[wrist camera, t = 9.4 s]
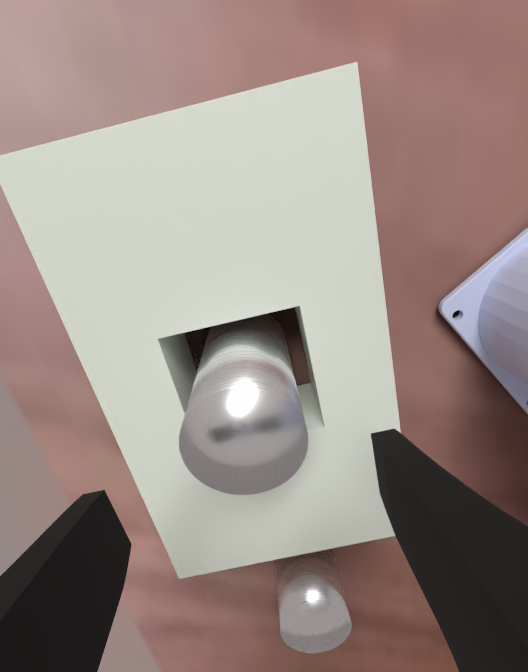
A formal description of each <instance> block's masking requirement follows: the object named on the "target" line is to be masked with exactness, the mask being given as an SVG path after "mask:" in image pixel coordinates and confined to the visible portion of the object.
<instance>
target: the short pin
mask: <svg viewBox="0 0 528 672" xmlns="http://www.w3.org/2000/svg"><path fill="white" fill-rule="evenodd" d="M275 570H276V582H277V594H278V606H279V618H280V630H281V637H282V639H283V641H284V642H285V643H286V644H287V645H288V646H289V647H290V648H292V649H294V650H296V651H300V652H304V653H320V652H325V651H328V650H331V649H333V648H335V647H337V646H339V645H340V644H342V643H343V642H344V641H345V640H346V639H347V637H348V636H349V634H350V632H351V628H352V624H351V619H350V615H349V611H348V607H347V603H346V599H345V595H344V591H343V587H342V583H341V580H340V576H339V572H338V568H337V564H336V560H335V556H334V554H333V553H332V551H331V550H330V549H327V550H322V551H317V552H312V553H307V554H302V555H297V556H292V557H286V558H281V559H277V560H276V564H275Z"/></svg>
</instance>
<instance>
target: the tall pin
mask: <svg viewBox="0 0 528 672" xmlns="http://www.w3.org/2000/svg"><path fill="white" fill-rule="evenodd" d="M179 449H180V454H181V457H182V460H183V462H184V464H185V465H186V467H187V468H188V470H189V471H190V472H191V473H192V475H193V476H194V477H195V478H197V479H198V480H199V481H200V482H202V483H203V484H205V485H206V486H208V487H210V488H212V489H215V490H217V491H220V492H224V493H228V494H235V495H252V494H258V493H262V492H266V491H269V490H272V489H274V488H276V487H278V486H280V485H282V484H283V483H285V482H286V481H288V480H289V479H290V478H291V477H292V476H293V475H294V474H295V473H296V472H297V471H298V470H299V468H300V467H301V465H302V463H303V461H304V459H305V457H306V454H307V450H308V432H307V427H306V423H305V419H304V415H303V411H302V406H301V402H300V398H299V394H298V389H297V385H296V381H295V377H294V373H293V368H292V364H291V360H290V356H289V351H288V347H287V343H286V339H285V335H284V332H283V329H282V327H281V326H280V324H279V323H278V321H277V320H276V319H275V318H274V317H273V316H271V315H270V314H268V313H267V314H263V315H258V316H254V317H250V318H245V319H241V320H237V321H232V322H228V323H224V324H219V325H215V326H211V328H210V330H209V332H208V336H207V339H206V342H205V346H204V349H203V353H202V356H201V360H200V363H199V367H198V370H197V374H196V377H195V381H194V384H193V388H192V391H191V395H190V398H189V402H188V405H187V408H186V412H185V415H184V419H183V422H182V426H181V429H180V434H179Z"/></svg>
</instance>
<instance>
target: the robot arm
mask: <svg viewBox="0 0 528 672" xmlns="http://www.w3.org/2000/svg"><path fill="white" fill-rule="evenodd" d="M438 310H439V312H440V314H441V315H442V316H443V317H444V319H445V320H446V321H447V322H448V323H449V324H450V325H451V327H452V328H453V329H454V330H455V331H456V332H457V334H458V335H459V336H460V337H461V338H462V339H463V340H464V342H465V343H466V344H467V345H468V346H469V347H470V349H471V350H472V351H473V352H474V353H475V354H476V355H477V357H478V358H479V359H480V360H481V361H482V362H483V364H484V365H485V366H486V367H487V368H488V369H489V370H490V372H491V373H492V374H493V375H494V376H495V377H496V379H497V380H498V381H499V382H500V383H501V384H502V385H503V387H504V388H505V389H506V390H507V391H508V392H509V394H510V395H511V396H512V397H513V398H514V399H515V400H516V402H517V403H518V404H519V405H520V406H521V407H522V409H523V410H524V411H525V412H526V413H527V414H528V402H527V401H528V227H527V228H526V229H525V230H524V231H523V232H522V233H520V234H519V235H518V236H517V237H516V238H514V239H513V240H512V241H511V242H510V243H509V244H507V245H506V246H505V247H504V248H503V249H502V250H500V251H499V252H498V253H497V254H496V255H494V256H493V257H492V258H491V259H490V260H489V261H487V262H486V263H485V264H484V265H483V266H481V267H480V268H479V269H478V270H477V271H476V272H474V273H473V274H472V275H471V276H470V277H468V278H467V279H466V280H465V281H464V282H463V283H461V284H460V285H459V286H458V287H457V288H455V289H454V290H453V291H452V292H451V293H450V294H448V295H447V296H446V297H445V298H444V299H442V301H441V302H440V303H439V306H438ZM457 310H459V314H458V316H457V317H455V318H453V317H452V316H453V313H454V312H455V311H457ZM371 439H372V446H373V452H374V459H375V465H376V472H377V478H378V485H379V492H380V496H381V498H382V501H383V504H384V507H385V509H386V512H387V515H388V518H389V520H390V523H391V526H392V528H393V531H394V533H395V536H396V538H397V540H398V542H399V544H400V546H401V548H402V550H403V552H404V554H405V556H406V558H407V560H408V562H409V564H410V566H411V569H412V571H413V573H414V575H415V577H416V579H417V581H418V583H419V585H420V587H421V589H422V591H423V593H424V595H425V597H426V599H427V601H428V603H429V605H430V607H431V609H432V611H433V613H434V615H435V617H436V619H437V621H438V624H439V626H440V628H441V630H442V632H443V634H444V636H445V639H446V641H447V643H448V645H449V648H450V650H451V652H452V655H453V657H454V660H455V662H456V665H457V667H458V670H459V672H528V526H526V525H525V524H523V523H521V522H520V521H518V520H517V519H515V518H513V517H512V516H510V515H509V514H507V513H506V512H504V511H503V510H501V509H500V508H498V507H497V506H495V505H494V504H492V503H491V502H489V501H488V500H486V499H485V498H483V497H482V496H480V495H479V494H477V493H476V492H475V491H473V490H472V489H470V488H469V487H468V486H466V485H465V484H464V483H462V482H461V481H460V480H458V479H457V478H456V477H454V476H453V475H452V474H450V473H449V472H448V471H446V470H445V469H444V468H442V467H441V466H440V465H438V464H437V463H436V462H435V461H433V460H432V459H431V458H430V457H428V456H427V455H426V454H425V453H423V452H422V451H421V450H420V449H419V448H417V447H416V446H415V445H414V444H413V443H411V442H410V441H409V440H408V439H407V438H406V437H405V436H403V435H402V434H401V433H400V432H399V431H397V430H396V429H390V430H385V431H380V432H375V433H371ZM130 550H131V543H130V541H129V539H128V537H127V535H126V532H125V530H124V528H123V526H122V524H121V522H120V520H119V518H118V516H117V514H116V512H115V510H114V508H113V506H112V504H111V502H110V500H109V498H108V496H107V494H106V492H105V490H102V491H97V492H92V493H88V494H83V495H82V496H81V497H80V498H78V499H77V500H76V501H75V502H74V503H73V504H72V505H71V506H70V507H69V508H68V509H67V510H66V511H65V512H64V513H63V514H62V515H61V516H60V517H59V518H58V519H57V520H56V521H55V522H54V523H53V524H52V525H51V526H50V527H49V528H48V529H47V530H46V531H45V532H44V533H43V534H42V535H41V536H40V537H39V538H38V539H37V540H36V541H35V542H34V543H33V544H32V545H31V546H30V547H29V548H28V549H27V550H26V551H25V552H24V553H23V554H22V555H21V556H20V557H19V558H18V559H17V560H16V561H15V562H14V563H13V564H12V565H11V566H10V567H9V568H8V569H7V570H6V571H5V572H4V573H3V574H2V575H1V576H0V672H97V671H98V668H99V665H100V661H101V658H102V655H103V652H104V649H105V645H106V642H107V639H108V636H109V633H110V630H111V626H112V623H113V620H114V617H115V614H116V610H117V607H118V603H119V600H120V597H121V594H122V590H123V587H124V582H125V577H126V573H127V568H128V562H129V556H130Z"/></svg>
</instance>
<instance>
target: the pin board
mask: <svg viewBox="0 0 528 672" xmlns="http://www.w3.org/2000/svg"><path fill="white" fill-rule="evenodd" d="M0 185H1V187H2V189H3V191H4V193H5V196H6V198H7V200H8V202H9V204H10V207H11V209H12V211H13V213H14V215H15V218H16V220H17V222H18V224H19V227H20V229H21V231H22V233H23V235H24V238H25V240H26V242H27V244H28V246H29V249H30V251H31V253H32V255H33V257H34V260H35V262H36V264H37V266H38V268H39V271H40V273H41V275H42V277H43V279H44V282H45V284H46V286H47V288H48V290H49V293H50V295H51V297H52V299H53V301H54V304H55V306H56V308H57V310H58V312H59V315H60V317H61V319H62V321H63V323H64V326H65V328H66V330H67V332H68V335H69V337H70V339H71V341H72V343H73V346H74V348H75V350H76V352H77V354H78V357H79V359H80V361H81V363H82V365H83V368H84V370H85V372H86V374H87V376H88V379H89V381H90V383H91V385H92V387H93V390H94V392H95V394H96V396H97V398H98V401H99V403H100V405H101V407H102V409H103V412H104V414H105V416H106V418H107V420H108V423H109V425H110V427H111V429H112V432H113V434H114V436H115V438H116V440H117V443H118V445H119V447H120V449H121V451H122V454H123V456H124V458H125V460H126V462H127V465H128V467H129V469H130V471H131V473H132V476H133V478H134V480H135V482H136V484H137V487H138V489H139V491H140V493H141V495H142V498H143V500H144V502H145V504H146V506H147V509H148V511H149V513H150V515H151V517H152V520H153V522H154V524H155V526H156V528H157V531H158V533H159V535H160V537H161V540H162V542H163V544H164V546H165V548H166V551H167V553H168V555H169V557H170V559H171V562H172V564H173V566H174V568H175V570H176V573H177V575H178V577H179V579H181V578H186V577H191V576H196V575H201V574H206V573H211V572H216V571H221V570H226V569H231V568H236V567H241V566H246V565H251V564H256V563H261V562H266V561H271V560H276V559H281V558H286V557H292V556H297V555H302V554H307V553H312V552H317V551H322V550H327V549H332V548H337V547H342V546H347V545H352V544H357V543H362V542H367V541H372V540H377V539H382V538H387V537H392V536H395V533H394V531H393V528H392V526H391V523H390V520H389V518H388V515H387V512H386V509H385V507H384V504H383V501H382V498H381V496H380V492H379V485H378V478H377V472H376V465H375V459H374V452H373V446H372V439H371V433H375V432H380V431H385V430H390V429H396V430H397V431H399V432H400V433H401V431H400V422H399V414H398V405H397V397H396V388H395V380H394V371H393V363H392V354H391V346H390V337H389V328H388V320H387V311H386V303H385V294H384V286H383V277H382V269H381V260H380V252H379V243H378V235H377V226H376V218H375V209H374V201H373V192H372V183H371V175H370V166H369V158H368V149H367V141H366V132H365V124H364V115H363V107H362V98H361V90H360V81H359V73H358V64H357V62H355V63H351V64H347V65H343V66H340V67H336V68H332V69H328V70H324V71H320V72H317V73H313V74H309V75H305V76H301V77H298V78H294V79H290V80H286V81H282V82H279V83H275V84H271V85H267V86H263V87H259V88H256V89H252V90H248V91H244V92H240V93H237V94H233V95H229V96H225V97H221V98H217V99H214V100H210V101H206V102H202V103H198V104H195V105H191V106H187V107H183V108H179V109H176V110H172V111H168V112H164V113H160V114H156V115H153V116H149V117H145V118H141V119H137V120H134V121H130V122H126V123H122V124H118V125H114V126H111V127H107V128H103V129H99V130H95V131H92V132H88V133H84V134H80V135H76V136H73V137H69V138H65V139H61V140H57V141H53V142H50V143H46V144H42V145H38V146H34V147H31V148H27V149H23V150H19V151H15V152H12V153H8V154H4V155H0ZM293 307H295V311H296V315H297V320H298V325H299V330H300V334H301V339H302V344H303V349H304V353H305V358H306V363H307V368H308V373H309V377H310V382H311V383H308V384H304V385H299V386H297V389H298V394H299V398H300V402H301V406H302V411H303V415H304V419H305V423H306V427H307V432H308V450H307V454H306V457H305V459H304V461H303V463H302V465H301V467H300V468H299V470H298V471H297V472H296V473H295V474H294V475H293V476H292V477H291V478H290V479H289V480H288V481H286V482H285V483H283V484H282V485H280V486H278V487H276V488H274V489H272V490H269V491H266V492H262V493H258V494H252V495H235V494H228V493H224V492H220V491H217V490H215V489H212V488H210V487H208V486H206V485H205V484H203V483H202V482H200V481H199V480H198V479H197V478H195V477H194V476H193V475H192V473H191V472H190V471H189V470H188V468H187V467H186V465H185V464H184V462H183V460H182V457H181V454H180V449H179V434H180V429H181V426H182V422H183V419H184V415H185V412H186V408H187V405H188V402H189V398H190V395H191V391H192V388H193V384H194V381H195V377H196V374H197V369H196V366H195V363H194V360H193V357H192V354H191V351H190V348H189V345H188V342H187V339H186V336H185V332H189V331H194V330H198V329H202V328H207V327H211V326H215V325H219V324H224V323H228V322H232V321H237V320H241V319H245V318H250V317H254V316H258V315H263V314H267V313H271V312H276V311H280V310H284V309H288V308H293Z"/></svg>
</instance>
